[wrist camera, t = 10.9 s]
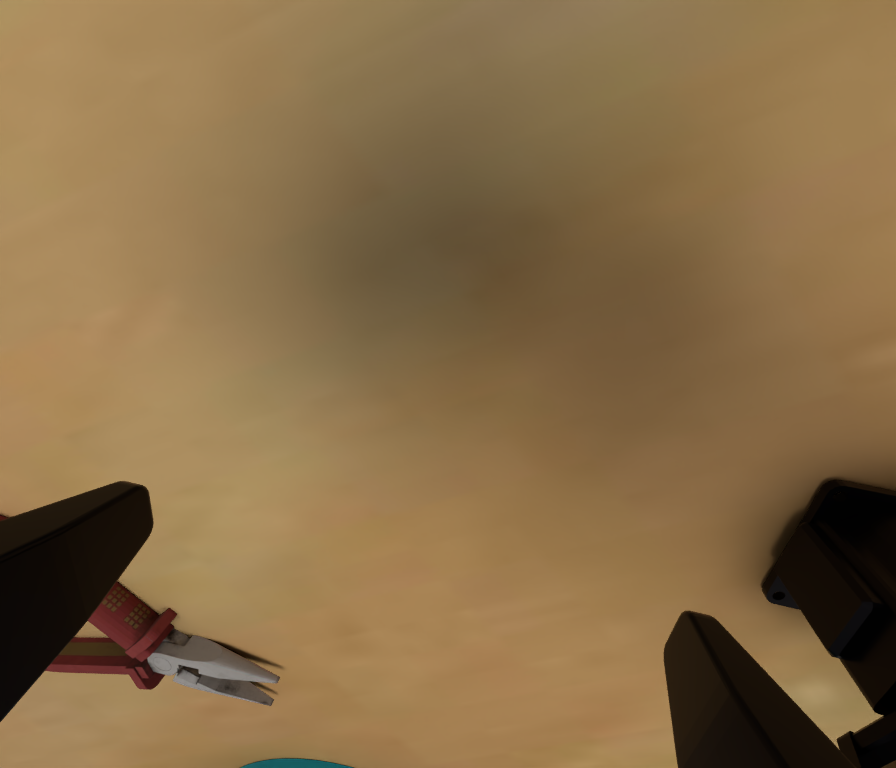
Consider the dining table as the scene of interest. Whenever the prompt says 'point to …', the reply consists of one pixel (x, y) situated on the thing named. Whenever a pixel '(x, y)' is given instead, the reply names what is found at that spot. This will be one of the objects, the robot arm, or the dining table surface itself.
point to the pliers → (158, 652)
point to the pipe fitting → (293, 764)
